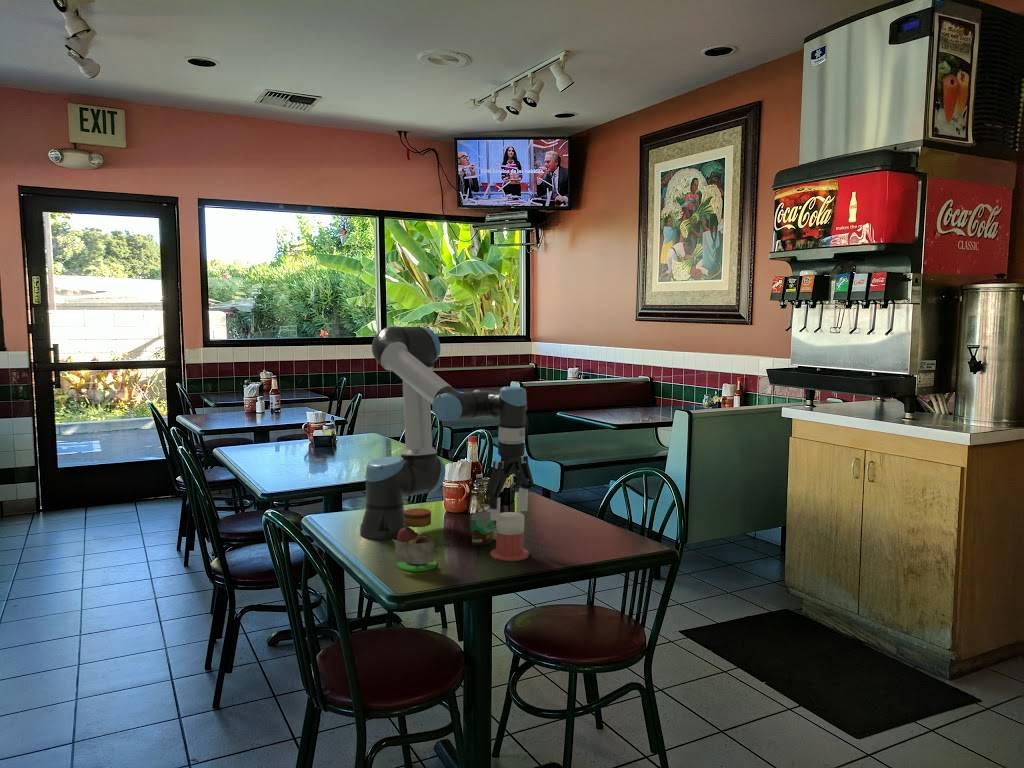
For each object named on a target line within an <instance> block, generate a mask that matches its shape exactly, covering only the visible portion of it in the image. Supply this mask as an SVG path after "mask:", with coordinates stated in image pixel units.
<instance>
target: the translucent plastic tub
mask: <svg viewBox="0 0 1024 768" xmlns="http://www.w3.org/2000/svg"><path fill="white" fill-rule="evenodd" d="M431 524H432V511H431V510H430V509H427V508H420V507H418V508H416V507H415V508H414V507H413V508H408V509H406V510H404V525H405V526H409V528H408V527H407V528H402V529H400V530H399V532H398V537H397V538H396V539H391V541H393V543H394V548H395V555H394V556H395V558H394V559H395V561H397V567H398V569H400V570H403V571H407V572H425V571H430V570H432V569H434V568H436V567H437V566H438V564H437V561H436V560H435V557H434V556H435V555H434V550H435V542H434V541H430V540H429V538H428V537H427V536H425V535H420V536H419V533H417V532H416V531H415V530H414V529H412V528H425V527H427V526H430V525H431ZM414 540H415V541H414ZM412 541H414V542H413V543H411V542H412Z"/></svg>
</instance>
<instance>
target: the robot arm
mask: <svg viewBox="0 0 1024 768" xmlns="http://www.w3.org/2000/svg"><path fill="white" fill-rule="evenodd" d="M434 331H435V330H432V329H431V328H429V327H426V326H425V327H424V326H386V327H385V328H383V329H381V330H379V331H378V332H377V333H376V335H375V336H374V338H373V340H372V343H371V352H372V355H373V358H374V359H375V361H376V362H377V363H378V365H380V367H382V368H383V369H384V370H386V371H392V372H393V373H394V374H395V375H397V376H398V377H399V378H400V379H401V380H402V391H403V392H402V394H403V416H404V417H403V418H404V419H403V420H404V440H405V441H404V442H405V443H404V445H405V447H404V449H403V450H402V452H400V456H398V455H397V456H396V455H395V456H394V455H391V456H382V457H378V458H375V459H373V460H370V461H369V462H368V463H367V465H366V466H365V467H366V468H365V476H364V478H365V511H364V514H363V518H362V523H361V524H360V526H359V534H360V536H361V537H363V538H366V539H373V540H392V539H393V540H395V539H397V537H398V532H399V530H400V529H402V528H407V527H408V528H410V527H409V526H405V525H404V511H405V508H404V500H405V499H404V497H405V498H406V497H410V496H416V495H421V494H425V495H426V494H430V493H431V492H435V491H437V490H439V489H440V487H441V486H442V485H443V484H444V481H445V477H446V465H445V464H444V462H443V459H442V458H441V457H440V456H438V451H437V450H436V449H435V448H434V447H433V439H432V437H433V436H432V435H433V433H432V414H431V412H432V413H434V417H435V418H436V419H437V420H439V421H440V422H447V421H448V422H453V421H454V422H455V421H460V420H468V419H469V420H470V419H479V418H494V419H498V433H497V435H498V436H497V438H498V441H499V442H498V443H497V455H498V456H500V461H497V460H494V461H493V463H492V469H491V472H490V473H491V474H490V476H489V479H488V483H487V485H486V490H485V493H484V494H485V497H488V498H489V499H490V500H489V505H490V509H491V512H490V519H491V520H494V522H495V521H500V513H501V497H500V495H501V492H502V489H503V487H504V485H505V483H506V481H507V480H508V478H510V477H511V476H512V475H514V477H515V478H516V479H517V482H518V483H519V486H520V487H519V488H518V504H517V505H518V509H517V510H518V511H523V512H528V502H529V489H530V490H531V489H532V488H533V485H534V480H533V479H534V478H533V476H532V473H531V468H530V465H529V457H528V455H525V453H526V451H525V449H526V448H525V446H526V444H525V443H524V441H525V439H526V418H527V417H526V415H527V414H526V413H527V405H528V401H527V391H526V389H525V388H524V387H521V386H503V387H501V388H500V389H499V391H492V390H487V389H474V390H473V391H468V392H466V391H465V392H459V390H456V389H455V388H454V387H453V386H452V385H450V384H449V383H447V382H446V381H445V380H444V379H443V378H441V377H440V376H439V375H438V374H437V373H435V372H434V371H433V369H434V367H435V365H434V363H435V362H436V361H438V359H439V356H440V355H441V342H440V340H439V337H438V334H436V333H435V332H434ZM431 405H432V407H431ZM431 408H432V409H431ZM431 410H432V411H431Z"/></svg>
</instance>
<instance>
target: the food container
mask: <svg viewBox="0 0 1024 768" xmlns="http://www.w3.org/2000/svg"><path fill="white" fill-rule="evenodd" d="M490 512H491V509H490V504H487V503H485V504H484V503H481V504H480V507H479V508H477V509H476V510H475V512H471V515H470V516H471V518H470V519H471V544H472V546H473V545H474V546H479V545H487V544H491V543H492V542H493V535H494V527H495V526H494V523H495V520H491V519H490Z"/></svg>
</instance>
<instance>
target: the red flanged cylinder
mask: <svg viewBox="0 0 1024 768" xmlns="http://www.w3.org/2000/svg"><path fill="white" fill-rule="evenodd" d="M524 533H525V532H524ZM524 533H522V534H518V535H503V534H499V533H497V532H496V538H495V539H496V543H495V544H496V546H495V547H496V548H493V549H492V550H491V551H490V557H491V558H492V559H494V560H497V561H502V562H518V561H519V562H520V561H524V560H526V559H529V557H530V551H529V550H527V549H525V548H524V540H525V539H524V535H525V534H524Z"/></svg>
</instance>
